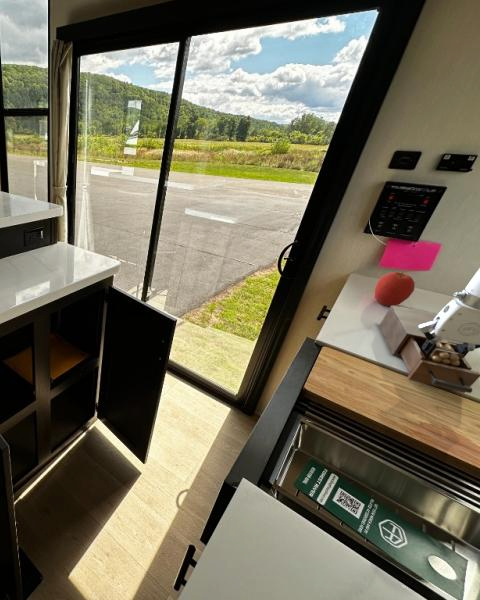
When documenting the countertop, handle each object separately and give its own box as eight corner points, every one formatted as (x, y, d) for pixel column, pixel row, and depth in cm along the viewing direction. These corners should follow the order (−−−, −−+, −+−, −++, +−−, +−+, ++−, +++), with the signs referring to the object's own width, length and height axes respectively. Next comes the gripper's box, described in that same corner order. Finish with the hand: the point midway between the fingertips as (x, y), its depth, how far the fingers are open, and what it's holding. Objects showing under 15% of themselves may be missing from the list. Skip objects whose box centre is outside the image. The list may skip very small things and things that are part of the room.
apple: (373, 308, 119) (392, 276, 111) (363, 295, 127) (380, 263, 119) (407, 313, 116) (429, 280, 108) (395, 299, 124) (414, 267, 116)
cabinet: (447, 367, 93) (465, 345, 88) (392, 355, 98) (406, 333, 93) (426, 335, 105) (441, 314, 101) (378, 325, 110) (391, 305, 106)
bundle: (421, 344, 92) (427, 335, 90) (446, 350, 90) (453, 340, 88) (431, 362, 86) (438, 353, 84) (458, 368, 84) (466, 359, 82)
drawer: (472, 406, 80) (490, 388, 77) (414, 391, 85) (428, 373, 81) (441, 356, 95) (454, 339, 92) (392, 346, 100) (404, 329, 96)
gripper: (441, 300, 79) (404, 354, 88) (542, 316, 72) (490, 373, 82) (430, 286, 84) (396, 339, 94) (523, 300, 77) (476, 355, 87)
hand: (440, 354), depth 88 cm, fingers closed on bundle, 5 cm apart
